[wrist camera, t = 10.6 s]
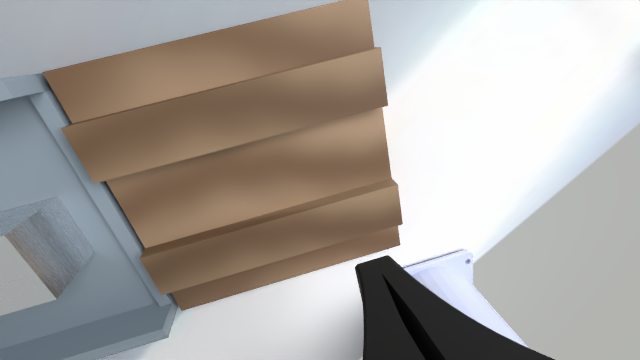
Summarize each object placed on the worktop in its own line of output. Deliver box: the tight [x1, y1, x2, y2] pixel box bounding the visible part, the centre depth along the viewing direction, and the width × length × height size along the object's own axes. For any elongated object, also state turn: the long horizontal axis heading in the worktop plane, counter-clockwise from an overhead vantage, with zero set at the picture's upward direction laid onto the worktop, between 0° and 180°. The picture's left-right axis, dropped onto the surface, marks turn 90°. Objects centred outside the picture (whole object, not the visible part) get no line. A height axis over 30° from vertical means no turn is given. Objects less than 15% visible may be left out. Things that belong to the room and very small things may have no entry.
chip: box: [0, 196, 95, 316], centre depth 16 cm, size 4×4×4 cm
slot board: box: [42, 0, 402, 311], centre depth 18 cm, size 16×16×2 cm
